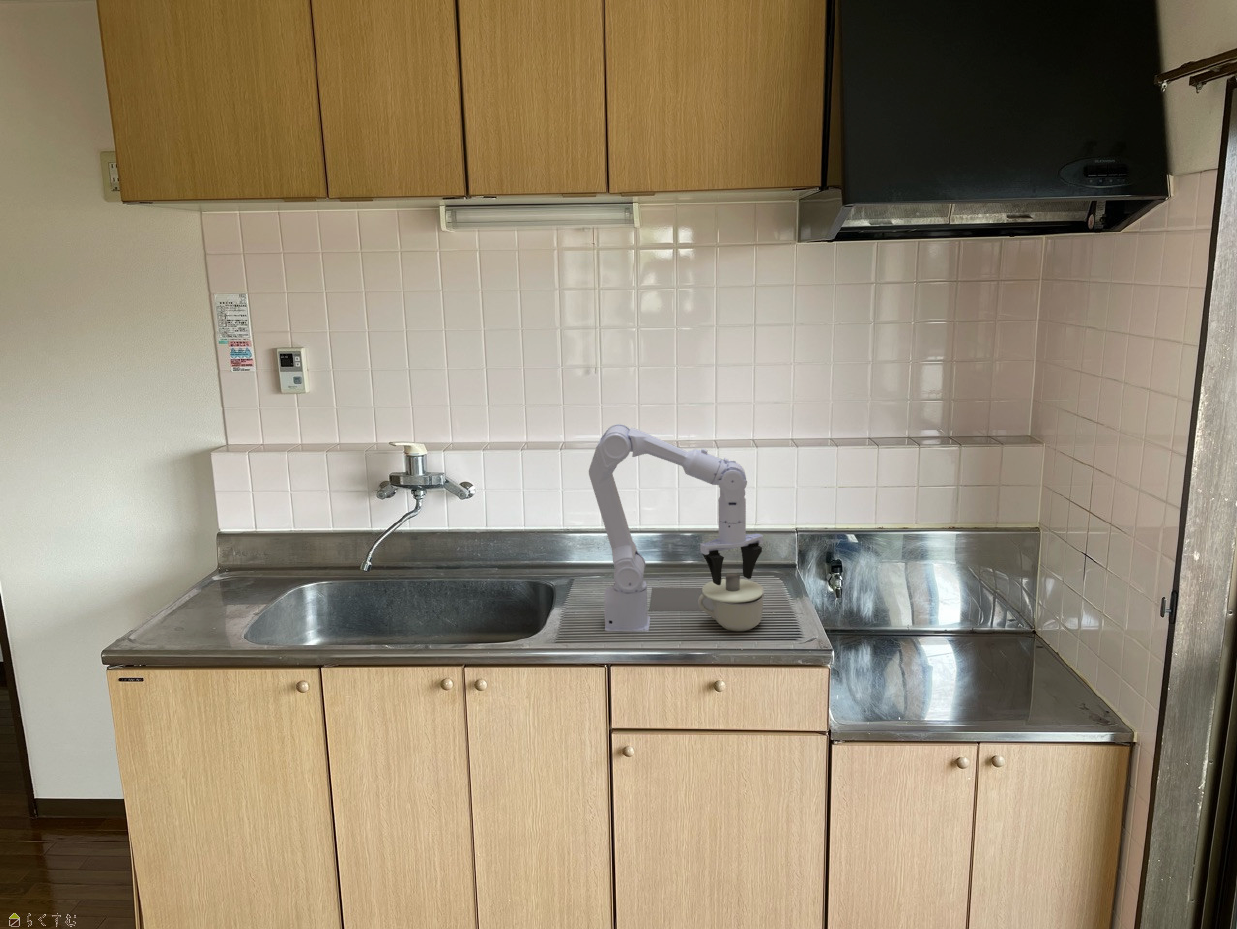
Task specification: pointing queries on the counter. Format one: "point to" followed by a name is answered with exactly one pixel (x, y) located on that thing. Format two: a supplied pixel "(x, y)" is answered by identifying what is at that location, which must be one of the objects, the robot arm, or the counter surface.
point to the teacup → (735, 613)
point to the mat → (678, 599)
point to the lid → (733, 590)
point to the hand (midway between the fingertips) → (732, 580)
